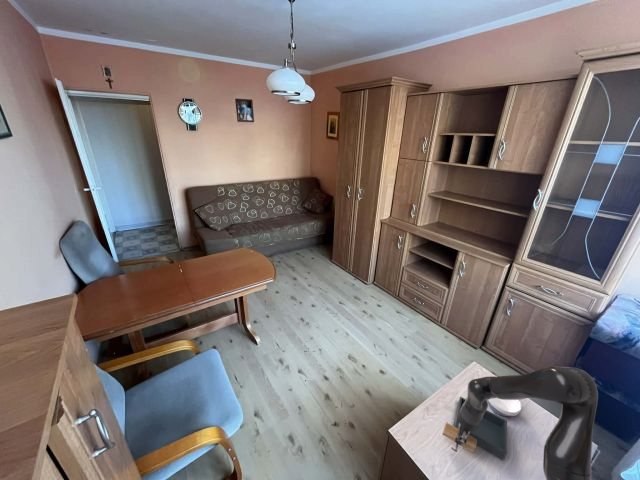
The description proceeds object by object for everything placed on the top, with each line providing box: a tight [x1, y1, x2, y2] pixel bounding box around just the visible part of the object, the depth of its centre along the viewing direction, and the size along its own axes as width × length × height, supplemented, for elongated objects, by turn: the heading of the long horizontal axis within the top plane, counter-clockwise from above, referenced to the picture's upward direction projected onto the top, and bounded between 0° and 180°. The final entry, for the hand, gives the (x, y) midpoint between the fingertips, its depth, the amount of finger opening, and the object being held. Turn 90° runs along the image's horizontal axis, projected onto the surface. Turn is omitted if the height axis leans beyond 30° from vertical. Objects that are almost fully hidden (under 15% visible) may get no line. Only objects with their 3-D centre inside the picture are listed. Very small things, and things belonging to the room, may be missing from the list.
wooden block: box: [442, 422, 478, 453], centre depth 110 cm, size 7×12×5 cm, turn 57°
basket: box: [453, 396, 508, 460], centre depth 121 cm, size 16×20×6 cm
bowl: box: [487, 398, 522, 417], centre depth 130 cm, size 14×14×8 cm
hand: (458, 439), depth 113 cm, fingers closed on wooden block, 3 cm apart
